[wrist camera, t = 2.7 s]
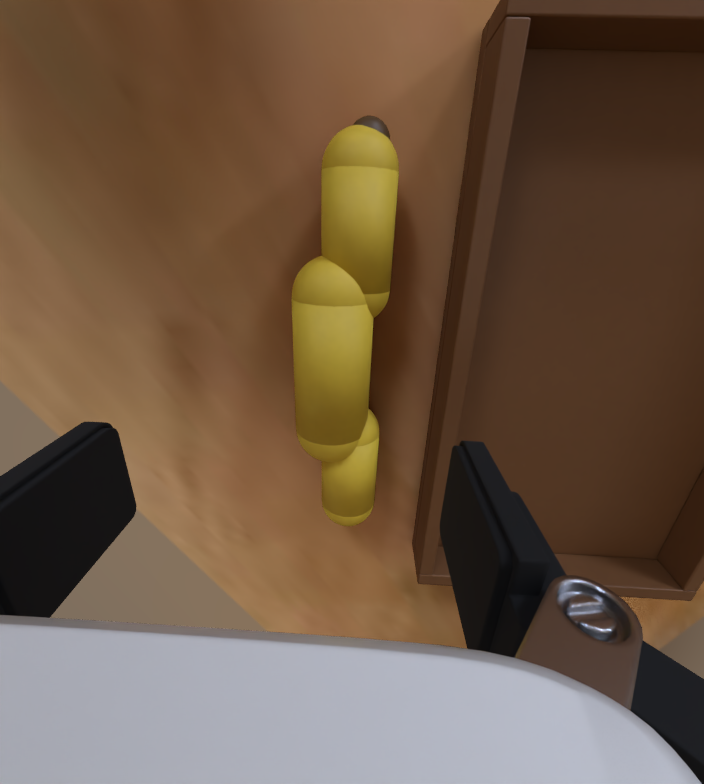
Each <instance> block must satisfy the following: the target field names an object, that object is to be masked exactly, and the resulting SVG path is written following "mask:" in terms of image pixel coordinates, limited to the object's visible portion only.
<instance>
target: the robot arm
mask: <svg viewBox="0 0 704 784" xmlns="http://www.w3.org/2000/svg"><path fill="white" fill-rule="evenodd" d="M135 512H136V502H135V498H134V494H133V490H132V486H131V482H130V478H129V474H128V470H127V466H126V462H125V458H124V454H123V450H122V446H121V442H120V438H119V434H118V432H117V430H116V429H114V428H113V427H112V426H111V425H110V424H109V423H103V422H83V423H81V424H80V425H78V426H77V427H75V428H74V429H72V430H70V431H69V432H67V433H66V434H64V435H63V436H61V437H60V438H58V439H57V440H55V441H54V442H52V443H51V444H49V445H48V446H46V447H44V448H43V449H42V450H40V451H38V452H37V453H35V454H34V455H32V456H31V457H29V458H28V459H26V460H25V461H23V462H22V463H20V464H18V465H17V466H16V467H14V468H12V469H11V470H9V471H8V472H6V473H5V474H3V475H2V476H0V784H704V679H703V678H701V677H699V676H697V675H696V674H695V673H693V672H692V671H690V670H688V669H687V668H685V667H684V666H682V665H680V664H679V663H677V662H676V661H674V660H672V659H671V658H669V657H668V656H666V655H665V654H663V653H662V652H660V651H658V650H657V649H655V648H654V647H652V646H651V645H649V644H647V643H646V642H644V641H643V634H642V627H641V624H640V622H639V620H638V618H637V616H636V614H635V613H634V612H633V611H632V609H631V608H630V607H629V605H628V604H627V603H626V602H625V601H624V600H622V599H621V598H620V597H619V596H618V595H617V594H616V593H614V592H613V591H611V590H610V589H608V588H607V587H605V586H603V585H602V584H600V583H598V582H595V581H593V580H591V579H588V578H585V577H580V576H576V575H566V573H565V571H564V570H563V568H562V566H561V565H560V563H559V561H558V559H557V558H556V556H555V554H554V553H553V551H552V549H551V548H550V546H549V544H548V542H547V541H546V539H545V537H544V536H543V534H542V532H541V530H540V529H539V527H538V525H537V524H536V522H535V520H534V518H533V517H532V515H531V513H530V512H529V510H528V508H527V506H526V505H525V503H524V501H523V500H522V498H521V497H520V495H519V494H518V493H516V492H513V491H511V490H510V489H509V487H508V485H507V483H506V481H505V480H504V478H503V476H502V474H501V472H500V471H499V469H498V467H497V465H496V464H495V462H494V460H493V458H492V456H491V455H490V453H489V451H488V449H487V447H486V446H485V444H484V443H483V442H479V441H461V442H460V444H459V446H455V445H454V446H453V448H452V452H451V458H450V464H449V470H448V476H447V482H446V488H445V494H444V500H443V506H442V512H441V518H440V536H441V540H442V544H443V549H444V553H445V557H446V561H447V565H448V569H449V574H450V578H451V582H452V586H453V590H454V594H455V598H456V603H457V607H458V611H459V615H460V619H461V623H462V628H463V632H464V636H465V640H466V644H467V648H468V649H466V648H458V647H451V646H444V645H434V644H422V643H411V642H400V641H388V640H377V639H365V638H352V637H338V636H324V635H309V634H295V633H281V632H266V631H252V630H238V629H223V628H206V627H192V626H191V627H190V626H176V625H161V624H145V623H144V624H143V623H128V622H113V621H96V620H80V619H63V618H50V617H51V615H52V614H53V613H54V612H55V611H56V609H57V608H58V607H59V606H60V604H61V603H62V602H63V601H64V600H65V599H66V597H67V596H68V595H69V594H70V593H71V591H72V590H73V589H74V588H75V586H76V585H77V584H78V583H79V582H80V581H81V579H82V578H83V577H84V576H85V575H86V573H87V572H88V571H89V570H90V569H91V567H92V566H93V565H94V564H95V563H96V561H97V560H98V559H99V558H100V557H101V555H102V554H103V553H104V552H105V550H106V549H107V548H108V547H109V546H110V544H111V543H112V542H113V541H114V540H115V538H116V537H117V536H118V535H119V534H120V533H121V531H122V530H123V529H124V528H125V527H126V525H127V524H128V523H129V522H130V521H131V519H132V518H133V517H134V514H135Z"/></svg>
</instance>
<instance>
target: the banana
mask: <svg viewBox="0 0 704 784" xmlns="http://www.w3.org/2000/svg"><path fill="white" fill-rule="evenodd" d="M398 178H399V163H398V157H397V154H396V151H395V148H394V146H393V145H392V143H391V141H390V135H389V131H388V129H387V127H386V125H385V124H384V122H383V121H381V120H380V119H379V118H377V117H374V116H365V117H362V118H360V119H358V120H357V121H356V122H355V123H354V124H353V126H349V127H347V128H345V129H343V130H341V131H340V132H339V133H337V134H336V135H335V136H334V137H333V139H332V140H331V141H330V143H329V144H328V146H327V148H326V150H325V153H324V156H323V160H322V168H321V256H319V257H317V258H315V259H313V260H311V261H309V262H308V263H307V264H306V265H305V266H303V268H302V269H301V270H300V272H299V273H298V275H297V277H296V279H295V281H294V284H293V288H292V326H293V355H294V384H295V413H296V432H297V437H298V439H299V442H300V444H301V446H302V447H303V448H304V450H305V451H306V452H307V453H308V454H309V455H311V456H312V457H313V458H316V459H318V460H321V461H322V505H323V508H324V511H325V513H326V514H327V516H328V517H329V518H330V519H331V520H332V521H333V522H335V523H337V524H339V525H342V526H354V525H358V524H360V523H361V522H363V521H364V520H365V519H366V518H367V517H368V516H369V515H370V513H371V511H372V509H373V506H374V500H375V487H376V473H377V460H378V446H379V424H378V421H377V419H376V417H375V415H374V414H373V413H372V411H371V410H370V409H368V405H369V388H370V371H371V353H372V336H373V319H374V318H375V317H376V316H377V315H378V314H379V313H380V312H381V311H382V310H383V309H384V307H385V305H386V304H387V301H388V299H389V294H390V285H391V272H392V259H393V245H394V232H395V218H396V205H397V191H398Z"/></svg>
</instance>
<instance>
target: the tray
mask: <svg viewBox="0 0 704 784" xmlns="http://www.w3.org/2000/svg"><path fill="white" fill-rule="evenodd" d="M461 441H479V442H483V443H484V444H485V446H486V447H487V449H488V451H489V453H490V455H491V456H492V458H493V460H494V462H495V464H496V465H497V467H498V469H499V471H500V472H501V474H502V476H503V478H504V480H505V481H506V483H507V485H508V487H509V489H510V490H511V491H513V492H516V493H518V494H519V495H520V497H521V498H522V500H523V501H524V503H525V505H526V506H527V508H528V510H529V512H530V513H531V515H532V517H533V518H534V520H535V522H536V524H537V525H538V527H539V529H540V530H541V532H542V534H543V536H544V537H545V539H546V541H547V542H548V544H549V546H550V548H551V549H552V551H553V553H554V554H555V556H556V558H557V559H558V561H559V563H560V565H561V566H562V568H563V570H564V571H565V573H566V575H576V576H580V577H585V578H588V579H591V580H593V581H595V582H598V583H600V584H602V585H603V586H605V587H607V588H608V589H610V590H611V591H613V592H614V593H616V594H617V595H618V596H621V597H637V598H653V599H669V600H685V601H691V600H692V599H693V597H694V596H695V594H696V591H697V590H698V589H699V587H700V586H701V584H702V582H703V581H704V0H500V2H499V3H498V5H497V7H496V9H495V10H494V12H493V14H492V16H491V17H490V19H489V20H488V22H487V24H486V26H485V27H484V29H483V33H482V40H481V47H480V54H479V62H478V69H477V76H476V84H475V91H474V98H473V105H472V113H471V120H470V127H469V135H468V142H467V149H466V156H465V164H464V171H463V178H462V186H461V193H460V200H459V207H458V215H457V222H456V229H455V236H454V244H453V251H452V258H451V266H450V273H449V280H448V287H447V295H446V302H445V309H444V317H443V324H442V331H441V338H440V346H439V353H438V360H437V368H436V375H435V382H434V389H433V397H432V404H431V411H430V419H429V426H428V433H427V440H426V448H425V455H424V462H423V470H422V477H421V484H420V491H419V499H418V506H417V513H416V521H415V528H414V535H413V542H412V545H413V552H414V559H415V567H416V574H417V582H418V584H430V585H446V586H452V582H451V578H450V574H449V569H448V565H447V561H446V557H445V553H444V549H443V544H442V540H441V536H440V518H441V512H442V506H443V500H444V494H445V488H446V482H447V476H448V470H449V464H450V458H451V452H452V448H453V446H454V445H455V446H459V444H460V442H461Z"/></svg>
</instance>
